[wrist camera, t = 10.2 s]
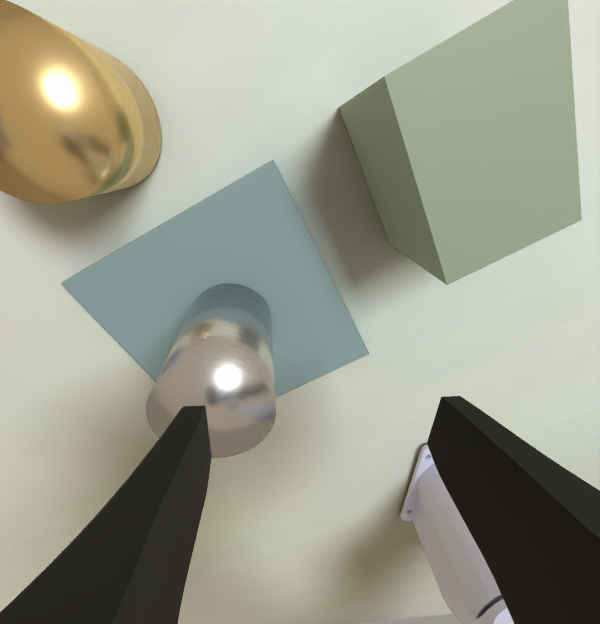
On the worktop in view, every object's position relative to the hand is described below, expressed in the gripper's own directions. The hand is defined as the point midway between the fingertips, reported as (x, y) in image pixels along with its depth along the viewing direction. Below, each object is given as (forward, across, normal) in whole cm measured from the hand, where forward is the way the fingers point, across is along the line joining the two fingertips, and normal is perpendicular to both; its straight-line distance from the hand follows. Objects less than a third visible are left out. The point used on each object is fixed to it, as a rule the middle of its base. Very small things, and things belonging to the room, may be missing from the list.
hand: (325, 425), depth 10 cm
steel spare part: (+8, +4, +1) cm, 9 cm away
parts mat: (+9, +4, +1) cm, 10 cm away
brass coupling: (+9, +9, -8) cm, 15 cm away
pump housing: (+9, -5, -8) cm, 13 cm away
